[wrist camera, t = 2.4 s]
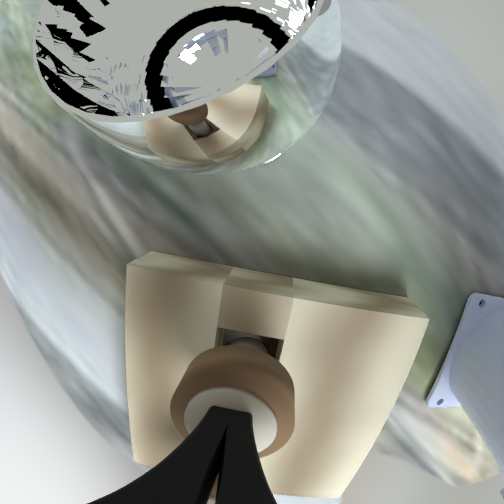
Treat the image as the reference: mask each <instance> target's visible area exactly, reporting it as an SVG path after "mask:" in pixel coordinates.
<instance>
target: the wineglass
mask: <svg viewBox="0 0 504 504" xmlns="http://www.w3.org/2000/svg"><path fill="white" fill-rule="evenodd" d="M32 49H33V60H34V68H35V71H36V73H37V75H38V78H39V80H40V82H41V85H42V87H43V89H44V90H45V91H46V92H47V93H48V94H49V95H50V96H51V97H52V98H53V100H54V101H55V102H56V103H57V104H58V105H59V106H60V107H61V108H63V109H64V110H65V111H66V112H67V113H69V114H70V115H71V116H72V117H73V118H75V119H76V120H77V121H79V122H80V123H81V124H83V125H84V126H85V127H87V128H88V129H89V130H91V131H92V132H93V133H95V134H96V135H97V136H99V137H100V138H101V139H103V140H104V141H106V142H107V143H109V144H111V145H112V146H114V147H116V148H117V149H119V150H121V151H122V152H124V153H126V154H128V155H130V156H133V157H135V158H137V159H139V160H141V161H143V162H145V163H148V164H150V165H153V166H156V167H160V168H163V169H167V170H170V171H175V172H181V173H187V174H193V175H217V174H226V173H232V172H237V171H241V170H245V169H249V168H251V167H256V166H261V165H265V164H268V163H270V162H272V161H274V160H276V159H277V158H278V157H280V156H281V155H282V154H283V153H284V152H285V151H286V150H287V149H289V148H290V147H291V146H292V145H294V144H295V143H296V142H297V141H298V140H299V139H301V138H302V137H303V136H304V135H305V134H306V133H307V132H308V131H309V129H310V128H311V127H312V126H313V124H314V123H315V122H316V121H317V119H318V118H319V116H320V115H321V113H322V111H323V110H324V108H325V106H326V105H327V103H328V101H329V98H330V96H331V93H332V91H333V88H334V85H335V81H336V77H337V73H338V69H339V65H340V60H341V14H340V8H339V2H338V0H44V1H43V3H42V6H41V8H40V11H39V14H38V16H37V19H36V24H35V30H34V36H33V42H32Z"/></svg>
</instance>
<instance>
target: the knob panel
mask: <svg viewBox="0 0 504 504" xmlns="http://www.w3.org/2000/svg"><path fill="white" fill-rule="evenodd" d="M428 322H429V318H428V317H427V316H426V315H425V314H424V313H423V312H422V311H421V310H420V309H419V308H418V307H417V306H416V305H415V304H414V303H413V302H412V301H411V300H410V299H409V298H408V297H402V296H396V295H390V294H384V293H378V292H372V291H366V290H361V289H355V288H349V287H343V286H338V285H332V284H326V283H320V282H315V281H309V280H304V279H298V278H293V277H287V276H282V275H276V274H271V273H265V272H260V271H255V270H249V269H244V268H239V267H233V266H228V265H223V264H218V263H212V262H207V261H202V260H197V259H192V258H187V257H181V256H176V255H171V254H166V253H161V252H156V251H151V252H149V253H147V254H145V255H143V256H141V257H139V258H137V259H135V260H134V261H132V262H130V263H128V264H127V267H126V292H125V358H126V382H127V398H128V411H129V422H130V432H131V441H132V449H133V457H134V461H135V462H138V463H141V464H143V465H146V466H149V467H155V466H156V465H157V464H158V463H160V462H161V461H162V460H163V459H164V458H166V457H167V456H168V455H169V454H170V453H171V452H172V451H173V450H174V449H176V448H177V447H178V446H179V445H180V444H181V443H182V442H183V441H184V440H185V438H184V437H183V436H182V435H181V434H180V433H179V431H178V430H177V429H176V427H175V425H174V423H173V421H172V418H171V414H170V403H171V399H172V396H173V394H174V392H175V390H176V388H177V387H178V385H179V383H180V381H181V379H182V377H183V375H184V373H185V371H186V370H187V368H188V366H189V364H190V363H191V362H192V360H193V359H194V358H196V357H197V356H198V355H199V354H201V353H202V352H204V351H206V350H208V349H211V348H214V347H218V346H222V344H223V337H224V330H225V329H229V330H234V331H239V332H244V333H249V334H255V335H260V336H265V337H271V338H277V339H279V342H278V346H277V350H276V355H275V359H276V360H278V361H279V362H280V363H281V364H282V365H283V366H284V367H285V368H286V370H287V371H288V373H289V374H290V376H291V378H292V381H293V384H294V390H295V427H294V431H293V434H292V436H291V438H290V439H289V441H288V442H287V443H286V444H285V445H284V446H283V447H282V448H281V449H279V450H278V451H276V452H274V453H273V454H270V455H268V456H265V457H262V458H260V462H261V465H262V468H263V471H264V474H265V477H266V480H267V482H268V485H269V487H270V490H271V492H272V494H279V495H289V496H301V497H318V498H339V497H340V496H341V494H342V493H343V492H344V490H345V489H346V487H347V486H348V484H349V482H350V481H351V480H352V478H353V476H354V475H355V473H356V472H357V470H358V468H359V467H360V465H361V464H362V462H363V460H364V459H365V457H366V455H367V454H368V452H369V450H370V449H371V447H372V445H373V444H374V442H375V440H376V438H377V436H378V435H379V433H380V431H381V429H382V427H383V425H384V423H385V422H386V420H387V418H388V416H389V414H390V412H391V410H392V408H393V406H394V404H395V402H396V400H397V398H398V395H399V393H400V391H401V389H402V387H403V385H404V382H405V380H406V378H407V376H408V373H409V371H410V369H411V366H412V364H413V362H414V359H415V357H416V354H417V352H418V349H419V347H420V344H421V341H422V339H423V336H424V333H425V331H426V328H427V325H428Z"/></svg>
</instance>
